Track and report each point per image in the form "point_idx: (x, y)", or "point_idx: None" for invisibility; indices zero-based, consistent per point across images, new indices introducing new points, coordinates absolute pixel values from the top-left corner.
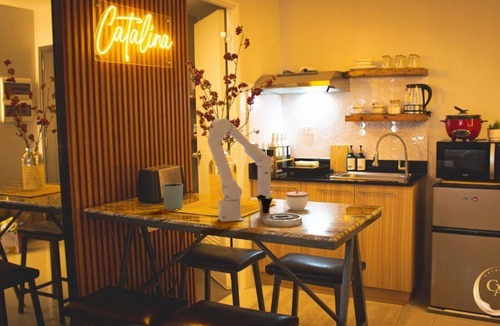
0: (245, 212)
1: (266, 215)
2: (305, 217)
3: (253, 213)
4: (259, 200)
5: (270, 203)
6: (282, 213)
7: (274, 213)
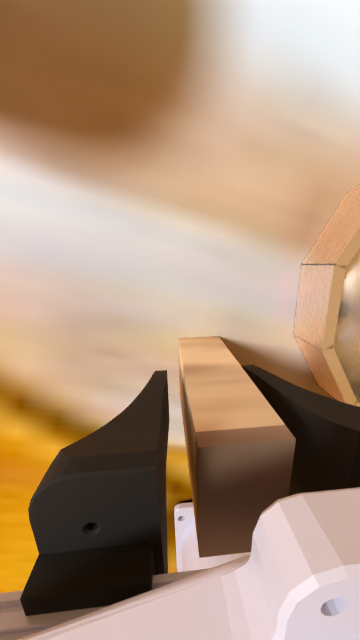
0: (19, 460)
1: (353, 398)
2: (348, 25)
3: (64, 418)
4: (196, 526)
5: (339, 403)
6: (347, 261)
7: (334, 333)
